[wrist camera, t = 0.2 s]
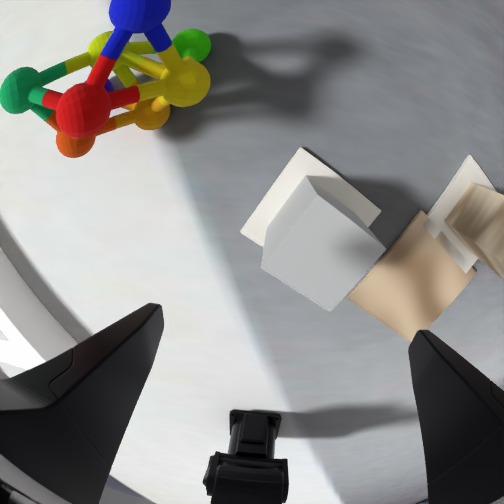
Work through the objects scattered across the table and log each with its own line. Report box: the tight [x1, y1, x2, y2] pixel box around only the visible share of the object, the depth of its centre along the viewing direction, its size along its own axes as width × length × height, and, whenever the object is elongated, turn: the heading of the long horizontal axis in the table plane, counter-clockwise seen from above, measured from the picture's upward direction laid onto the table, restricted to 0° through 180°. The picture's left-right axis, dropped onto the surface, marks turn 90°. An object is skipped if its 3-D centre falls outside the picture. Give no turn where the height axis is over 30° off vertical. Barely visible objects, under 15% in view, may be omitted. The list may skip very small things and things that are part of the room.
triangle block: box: [0, 247, 78, 370], centre depth 28 cm, size 30×26×6 cm
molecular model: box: [0, 0, 211, 158], centre depth 14 cm, size 11×7×12 cm, turn 104°
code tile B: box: [240, 147, 381, 248], centre depth 22 cm, size 8×8×1 cm
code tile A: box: [423, 155, 496, 273], centre depth 20 cm, size 8×8×1 cm
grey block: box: [261, 175, 386, 312], centre depth 18 cm, size 5×5×7 cm
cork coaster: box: [347, 210, 476, 342], centre depth 23 cm, size 10×10×1 cm
